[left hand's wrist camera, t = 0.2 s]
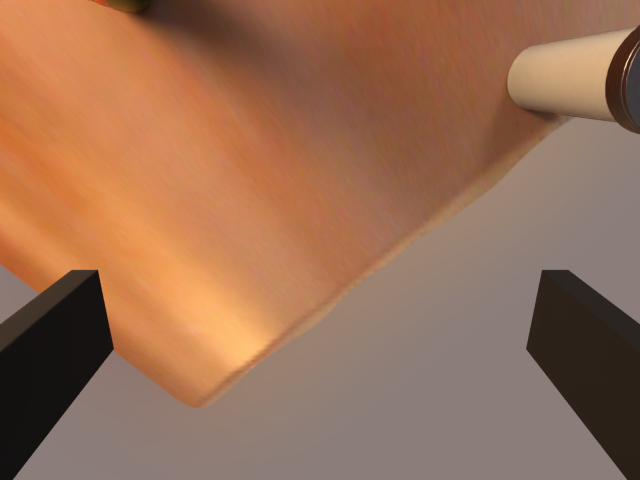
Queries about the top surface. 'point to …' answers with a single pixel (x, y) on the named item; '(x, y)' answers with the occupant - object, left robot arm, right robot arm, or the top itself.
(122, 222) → the top surface
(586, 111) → the screw-top jar
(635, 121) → the lid
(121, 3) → the soda can
